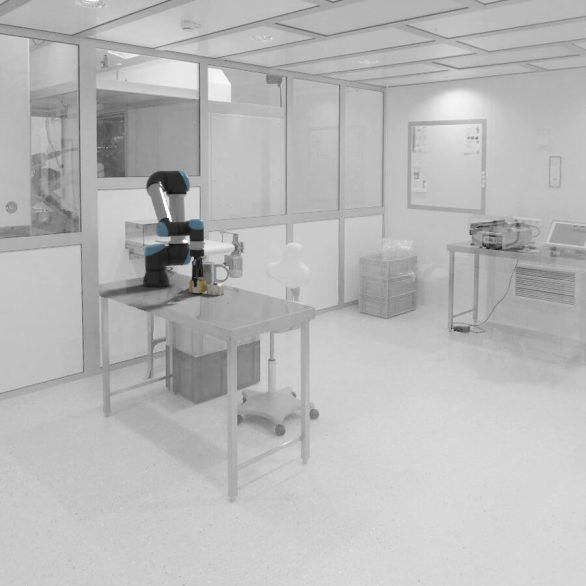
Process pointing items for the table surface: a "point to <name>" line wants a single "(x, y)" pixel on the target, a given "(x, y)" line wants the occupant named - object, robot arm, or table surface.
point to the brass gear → (200, 284)
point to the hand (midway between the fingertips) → (198, 290)
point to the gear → (215, 289)
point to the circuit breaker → (209, 272)
